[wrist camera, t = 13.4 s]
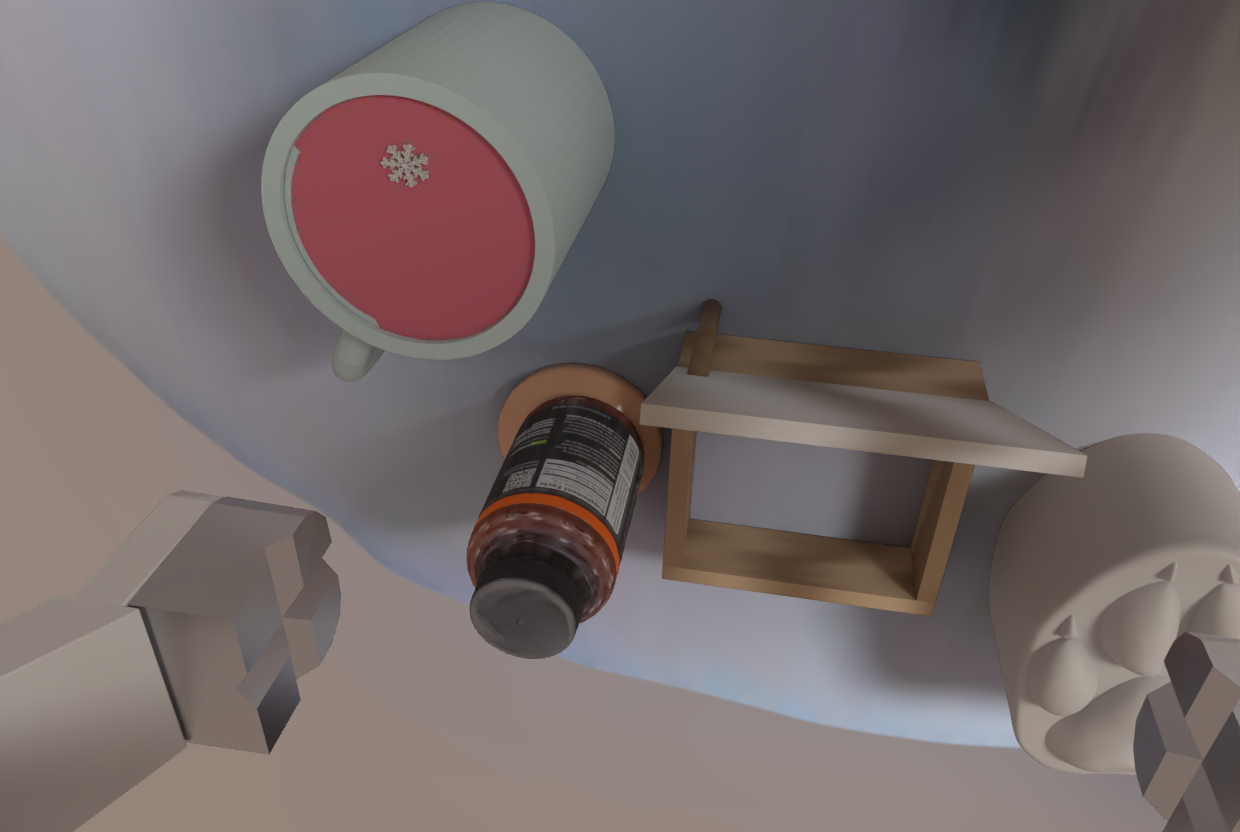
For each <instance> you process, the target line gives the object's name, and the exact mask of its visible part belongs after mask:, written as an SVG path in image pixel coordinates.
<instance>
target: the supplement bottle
mask: <svg viewBox="0 0 1240 832" xmlns="http://www.w3.org/2000/svg"><path fill="white" fill-rule="evenodd" d="M643 466H644V447H643V443H642V440H641V438H640V436H639V434H638V432H637V430H636V428H635V426H634V425H633V424H632V423H631V421H630V420H629V419H628V418H627V417H626V416H625V415H624V414H623V413H622V412H620V411H619V410H617V409H615V408H614V407H613V406H611V405H609V404H607V403H605V402H602V401H600V400H597V399H595V398H590V397H586V396H563V397H557V398H554V399H551V400H548V401H546V402H544V403H542V404H540V405H539V406H537V407H536V408H535V409H533V410H532V411H531V412H530V413H529V414H528V416H527V417H526V418H525V420H524V422H523V423H522V425H521V426H520V428H519V430H518V432H517V434H516V436H515V439H514V441H513V443H512V445H511V447H510V449H509V452H508V454H507V456H506V458H505V461H504V463H503V465H502V467H501V469H500V472H499V474H498V476H497V478H496V481H495V482H494V485H493V487H492V489H491V491H490V494H489V496H488V498H487V500H486V503H485V505H484V507H483V509H482V511H481V513H480V515H479V518H478V521H477V523H476V525H475V527H474V529H473V532H472V534H471V538H470V540H469V544H468V548H467V567H468V572H469V575H470V577H471V580H472V583H473V585H474V586H475V592H474V594H473V596H472V599H471V602H470V617H471V620H472V623H473V625H474V627H475V629H476V630H477V632H478V633H479V634H480V635H481V636H482V637H483V638H484V639H485V641H487V642H488V643H489V644H491V645H492V646H494V647H496V648H498V649H499V650H501V651H503V652H505V653H507V654H510V655H513V656H516V657H521V658H527V659H540V658H546V657H550V656H553V655H556V654H558V653H560V652H562V651H563V650H564V649H566V648H567V647H568V646H569V644H570V643H571V642H572V640H573V638H574V636H575V633H576V630H577V628H578V625H579V623H581V622H583V621H586V620H587V619H589V618H591V617H592V616H594V615H595V614H596V613H597V612H598V611H599V610H600V609H601V608H602V607H603V606H604V605H605V604H606V602H607V601H608V599H609V598H610V595H611V594H612V591H613V588H614V585H615V581H616V577H617V574H618V569H619V565H620V562H621V559H622V554H623V550H624V546H625V542H626V538H627V533H628V530H629V526H630V523H631V518H632V513H633V509H634V506H635V501H636V498H637V493H638V490H639V485H640V482H641V478H642V474H643Z"/></svg>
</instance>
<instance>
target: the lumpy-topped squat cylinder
mask: <svg viewBox="0 0 1240 832" xmlns="http://www.w3.org/2000/svg"><path fill="white" fill-rule="evenodd" d="M1080 452H1082V453H1083V454H1085V455H1087V461H1086V467H1085V472H1084V478H1082V477H1073V476H1065V475H1057V474H1048V473H1046V474H1045V475H1044V476H1042V477H1041V478H1040V479H1039V480H1038V481H1037V482H1036V483H1035V484H1034V485H1033V486H1032V487H1031V488H1030V489H1029V490H1028V491H1027V492H1026V493H1025V494H1024V495H1023V496H1022V497H1021V498H1020V499H1019V500H1018V501H1017V502H1016V503H1015V504H1014V505H1013V507H1012V508H1011V509H1010V510H1009V512H1008V513H1007V515H1006V516H1005V519H1004V521H1003V523H1002V526H1001V529H1000V532H999V535H998V539H997V543H996V547H995V551H994V556H993V561H992V567H991V574H990V595H989V608H990V614H991V619H992V624H993V630H994V635H995V640H996V645H997V650H998V655H999V660H1000V665H1001V670H1002V675H1003V680H1004V685H1005V691H1006V696H1007V700H1008V705H1009V709H1010V714H1011V720H1012V726H1013V730H1014V733H1015V736H1016V739H1017V741H1018V743H1019V745H1020V746H1021V747H1022V749H1023V750H1024V751H1025V752H1026V753H1027V754H1029V755H1030V756H1031V757H1032V758H1033V759H1035V760H1036V761H1038V762H1039V763H1041V764H1042V765H1044V766H1046V767H1049V768H1051V769H1054V770H1058V771H1063V772H1069V773H1078V774H1128V775H1136V771H1135V762H1134V754H1133V742H1134V733H1135V724H1136V718H1137V716H1138V714H1139V711H1140V709H1141V707H1142V705H1143V702H1144V700H1145V698H1146V695H1147V694H1148V693H1150V692H1152V691H1154V690H1156V689H1158V688H1160V687H1161V686H1163V685H1165V684H1167V683H1169V682H1171V680H1170V677H1169V675H1168V672H1167V669H1166V667H1165V664H1164V659H1165V657H1166V655H1167V653H1168V651H1169V649H1170V647H1171V645H1172V643H1173V642H1174V641H1175V640H1176V639H1177V638H1178V637H1180V636H1181V635H1182V634H1183V633H1184V632H1193V633H1200V634H1208V635H1216V636H1223V637H1231V638H1238V639H1240V493H1239V491H1238V490H1237V488H1236V486H1235V484H1234V483H1233V481H1232V479H1231V478H1230V476H1229V475H1228V473H1227V472H1226V471H1225V470H1224V469H1223V467H1222V466H1221V465H1219V464H1218V463H1217V462H1216V461H1215V460H1214V459H1212V458H1211V457H1210V456H1209V455H1207V454H1206V453H1205V452H1203V451H1202V450H1200V449H1199V448H1197V447H1195V446H1193V445H1192V444H1190V443H1188V442H1186V441H1183V440H1181V439H1178V438H1175V437H1172V436H1167V435H1161V434H1131V435H1124V436H1120V437H1116V438H1112V439H1109V440H1106V441H1103V442H1100V443H1098V444H1095V445H1093V446H1091V447H1089V448H1086V449H1084V450H1082V451H1080Z"/></svg>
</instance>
